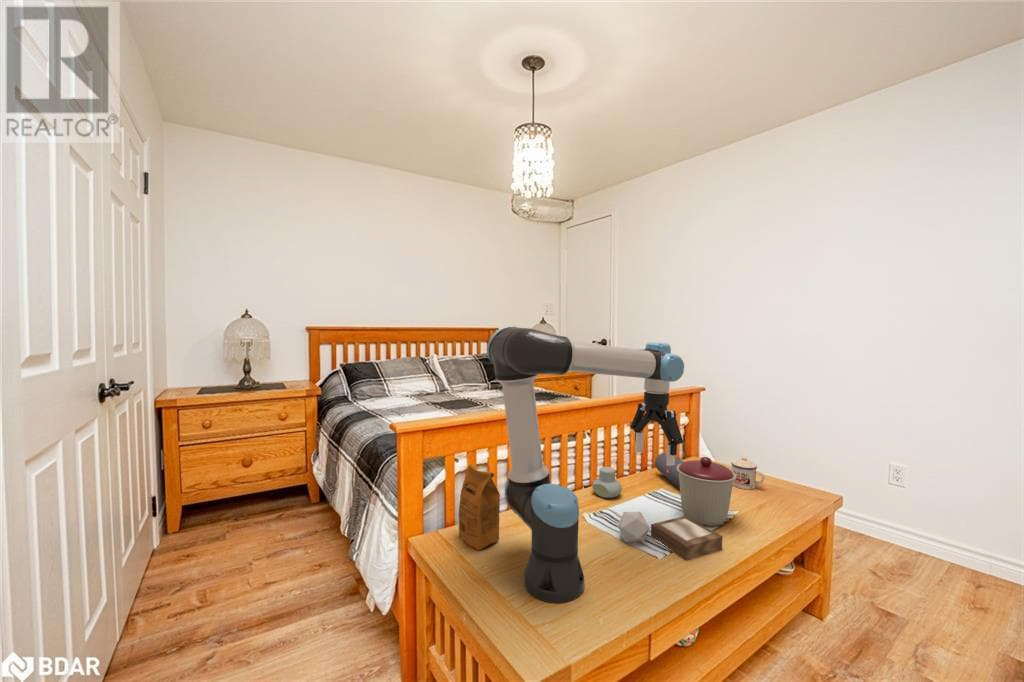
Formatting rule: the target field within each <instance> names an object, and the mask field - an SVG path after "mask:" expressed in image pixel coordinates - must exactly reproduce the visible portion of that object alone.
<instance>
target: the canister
mask: <svg viewBox="0 0 1024 682" xmlns="http://www.w3.org/2000/svg"><path fill="white" fill-rule="evenodd" d="M677 471H678V472H679V482H680V488H679V494H680V503H681V509H682V513H683V516H686V517H688V518H690V519H692V520H693V521H695V522H697V523H699V524H701V525H703V526H705V527H706V526H708V527H715V526H721V525H722V524H723V523H725V522H726V520H727V518H728V513H729V509H730V504H731V503H730V502H731V497H732V491H733V487H734V486H733V480H735V478H736V474H735V473H734V472H733V471H732V469H730V468H729V467H727V466H724V465H723V464H721V463H716V462H713V461H712V459H711V458H710V457H708V456H702V457H701V458H700V459H699V460H698V459H697V460H694V459H693V460H687V461H686V460H685V461H683V463H681V464H679V465H678V466H677Z"/></svg>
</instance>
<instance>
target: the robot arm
mask: <svg viewBox="0 0 1024 682" xmlns="http://www.w3.org/2000/svg"><path fill="white" fill-rule="evenodd" d="M671 349H672V348H671V345H670V344H669V343H667V342H647V343H646V344H645V348H644V349H634V348H628V347H619V346H613V345H612V346H611V345H610V346H609V345H603V344H595V343H587V342H580V341H572V340H571V339H570V338H569V337H568V336H564V335H563V336H562V335H558V334H552V333H548V332H545V331H541V330H539V329H536V328H529V327H516V326H507V327H502V328H500V329H498V330H497V331H496V332H494V333H493V334H492V335H491V337H490V338H489V340H488V342H487V345H486V354H487V358H488V360H489V361H490V363H491V364H492V365H493V368H494V369H493V370H494V376H495V381H496V382H498V383H499V384H500V385H501V386H502V387H501V388H502V393H503V394H502V395H503V402H504V410H505V418H506V425H507V427H506V428H507V436H508V437H507V438H508V444H509V453H510V460H511V469H510V470H509V471H508V473H507V482H506V484H505V487H504V496H505V500H506V502H507V504H508V506H509V508H510V509H511V511H512V512H513V513H514V514H516V516H518V517H519V519H520V520H521V521H522V522H523V523H524V524H525V525H526V526H527V527H528V528H529V529H530V531H531V552H530V555H529V557H528V561H527V564H526V567H525V570H524V574H523V583H524V588H525V589H526V590H527V592H528V593H529V594H530V595H532V597H534V598H536V599H539V600H540V601H544V602H546V603H547V602H548V603H554V604H555V603H558V604H559V603H567V602H571V601H573V600H576V599H577V598H579V597H580V596H581V595H582V594H583V592H584V590H585V574H584V572H583V567H582V564H581V561H580V557H579V554H578V553H579V521H580V520H579V518H580V508H579V499H578V497H577V495H576V493H575V492H574V491H572V490H571V489H570V488H568V487H566V486H564V485H563V486H562V485H560V484H556V483H551V475H550V469H549V468H548V467H547V466H546V465H545V464H543V463H544V462H543V454H542V447H541V446H542V445H541V437H540V436H541V435H540V429H539V420H538V419H539V417H538V411H537V402H536V392H535V384H534V381H535V380H536V378H538V376H539V375H558V376H565V375H566V374H567V373H568V372H569V373H570V372H572V373H584V374H591V375H593V374H595V375H596V374H597V375H606V376H615V377H616V376H617V377H629V378H641V379H644V382H643V383H644V385H643V386H644V387H643V390H644V392H643V403H642V402H641V403H638V404H637V409H636V412H635V414H634V417H633V419H632V421H631V424H630V429H631V430H633V431H634V441H635V445H634V446H635V447H634V449H635V450H634V452H635V453H639V454H640V453H643V452H644V444H645V443H644V438H645V433H644V429H645V428H646V426H647V425H649V423H650V422H652V421H653V422H655V423H657V424H658V425H660V427H661V430H662V431H663V433H664V435H665V437H666V440H667V441H668V443H667V444H666V453H667V459H666V465H667V466H671V465H675V457H676V456H677V453H678V451H677V450H678V445H681V444H683V443H684V440H683V436H682V434H681V430H680V427H679V424H678V420H677V416H676V410H668V406H669V404H670V394H669V392H670V383H671V382H676V381H679V380H680V379H681V378H682V377H683V375H684V373H685V363H684V360H683V358H681V357H680V356H679V355H678V354H676V353H675V354H674V353H672V350H671Z"/></svg>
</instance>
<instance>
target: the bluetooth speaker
mask: <svg viewBox="0 0 1024 682" xmlns="http://www.w3.org/2000/svg"><path fill="white" fill-rule="evenodd" d="M666 459H667V452H661V453H659V454H658V455H657V456H656V458H655V461H654V466H655V468H656V470H657V471H658V472H660V473H661V474H662V475H663V476H664V477H666V478H667V480H668V481H669V482H670V483H671V484H673V485H674V486H675V487H677V488H679V489H680V482H679V472H678V471H677V466H678V465H679V464H681V463H683V462H684V461H683V460H681V459H679V457H676V456H675V465H671V466H667V465H666Z"/></svg>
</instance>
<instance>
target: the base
mask: <svg viewBox="0 0 1024 682" xmlns="http://www.w3.org/2000/svg"><path fill="white" fill-rule="evenodd" d="M651 536H652V537H653V538H655V539H656V540H658V541H660V542H661V543H662V544H664V545H665V546H667V547H668V548H669V549H668V548H667V547H666V548H667V549H668V550H670V549H671V550H672V551H671V550H670V551H671V552H673V553H675V554H676V555H677V556H679V557H680V558H682V559H684V560H685V561H689V560H693V559H696V558H700V557H702V556H705V555H709V554H712V553H714V552H715V553H716V552H718V551H721V550H723V535H721V534H719V533H717V532H716V531H714V530H712V529H710V528H708V527H706V525H701V524H699V523H697V522H695V521H693V520H692V519H690V518H688V517H686V516H685V515H683V516H678V517H675V518H670V519H666V520H663V521H659V522H655V523H651V524H650V537H651ZM652 537H651V538H652ZM653 538H652V539H653ZM655 539H654V540H655ZM656 540H655V541H656ZM658 541H657V542H658ZM661 543H660V544H661ZM662 544H661V545H662ZM664 545H663V546H664ZM665 546H664V547H665Z"/></svg>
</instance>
